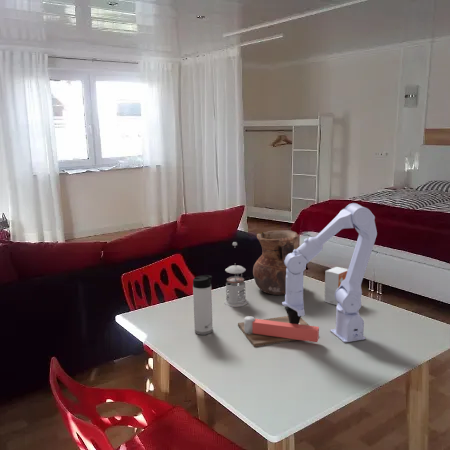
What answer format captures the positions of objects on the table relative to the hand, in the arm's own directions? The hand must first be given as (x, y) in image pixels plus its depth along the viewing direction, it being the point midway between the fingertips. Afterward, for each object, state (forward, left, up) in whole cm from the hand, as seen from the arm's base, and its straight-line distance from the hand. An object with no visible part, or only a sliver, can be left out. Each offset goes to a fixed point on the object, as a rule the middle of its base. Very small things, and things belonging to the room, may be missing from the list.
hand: (294, 328), depth 153 cm
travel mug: (+14, +28, -3) cm, 31 cm away
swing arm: (0, +5, -2) cm, 5 cm away
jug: (+44, -12, -3) cm, 46 cm away
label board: (+6, +4, -3) cm, 8 cm away
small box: (+24, -29, -3) cm, 38 cm away
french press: (+37, +9, -3) cm, 38 cm away
